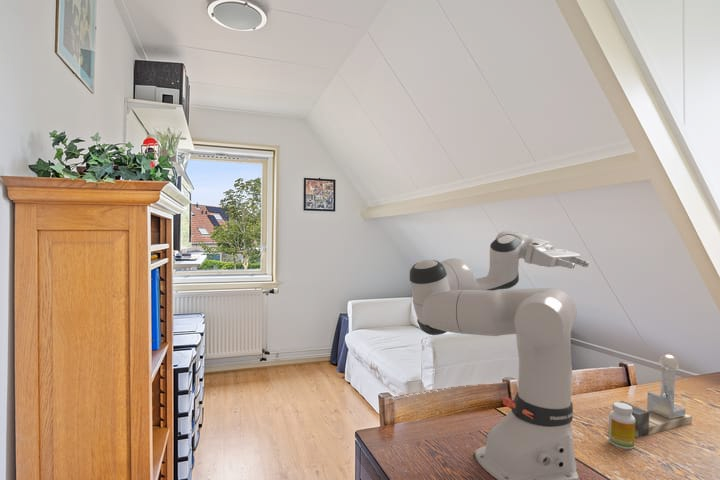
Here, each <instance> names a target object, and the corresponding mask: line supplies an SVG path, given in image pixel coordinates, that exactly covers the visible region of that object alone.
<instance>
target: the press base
mask: <svg viewBox="0 0 720 480" xmlns="http://www.w3.org/2000/svg"><path fill="white" fill-rule="evenodd" d="M619 402H621V403H625V404H628V405H630V406H631V407H632V414H631V415H633V416H634V418H635V437H636V438H642V437H645V436H649V435H653V434H657V433H662V432H664V431H667V430H671V429H676V428H679V427H682V426H686V425H690V424H692V422H693V421H692V417H693V416H692V415H690V414H687V413H685V416H681V417H677V418H673V419H668V418H666V417H663V416H661V415H658V414H656V413H654V412H651V411H649V410H647V409H644V408H643V409H642V408H640V407H639V406H635V405H633V404H631V403H629V402H627V401H624V400H622V401H619ZM614 403H615V402H613V403H612V405H613V404H614Z"/></svg>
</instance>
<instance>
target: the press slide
mask: <svg viewBox="0 0 720 480" xmlns="http://www.w3.org/2000/svg"><path fill="white" fill-rule="evenodd" d="M658 361H659V362H658V363H659V365H660V367H661V381H660V383H661V384H660V394H658V393H655V392H652V391H648V392H647V397H646V398H647V399H646V400H647V402H646V410H649V411H651V412H654V413H656V414H658V415H661V416H663V417H666V418H668V419H673V418H677V417H681V416H685V414H686V412H687V411H686V408H684V407H682V406H678V405H676V404H675V387H676V370H677V369H678V368H679V366H680V362H679V359H678V358H677V357H676V356H675V355H672V354H669V353H665V354H663V355H661V356H660V357H659V360H658Z"/></svg>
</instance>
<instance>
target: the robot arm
mask: <svg viewBox="0 0 720 480" xmlns="http://www.w3.org/2000/svg"><path fill="white" fill-rule="evenodd" d="M489 245H490V246H489V268H488V269H489V270H488V272H487V273H488V274H487V275H485V276H483V277H482V276H481V277H479V278H476V277H475V275H474V272H473V270H472V269H471V267H470V266H469V265H468V264H467V263H466V262H465V261H463V260H461V259H459V258H454V257H453V258H448V259H445V260H442V261H438V260H435V259H426V260H421V261H418V262H417V263H414V264H413V265H412V267H410V270H409V281H410V286H411V287H410V288H411V289H410V290H411V295H412V297H411V298H412V303H413V304H412V305H413V308H414V312H415V314H416V319H417V321H416V322H417V324H418V326H419V328H420V330H421V331H422V332H424V333H425V334H427V335H430V336H438V335H439V336H440V335H444V334H446V333H447V332H448V333H453V334H462V335H463V334H464V335H475V336H488V337H490V336H491V337H499V336H507V335H509V336H510V335H516V336H515V337H516V347H517V352H518V353H517V355H518V381H517V382H518V387H517V389H518V390H517V392H516V394H515V397H514V399H511V398H510V397H508V396H505V397H504V398H503V399H502V404H503V405H504V406H505V407H508V409H510V411H509V412H508V414H506V415H505V416H504V417H503V418H502V419H501V420H500V421H499V422H498V423H496V424H495V425H494V426H493V427H492V428H491V429H490V430H489V431H488V434H487V437H486V444H485V445H484V446H481V447H479V448H477V449H475V455H474V456H475V459H476V461H477V462H478V463H479V465H480V466H481V467H482V468H483V469H484V470H485V471H486V472H487V473H489V474H490V476H492V477H494V478H495V479H496V480H580V477H579V474H578V472H577V468H578V465H577V462H576V457H575V456H576V453H575V442H574V436H573V433H572V426H571V423H572V422H573V419H574V418H573V415H574V410H573V409H574V404H573V402H572V381H573V380H572V379H573V367H572V365H573V364H572V351H571V350H572V346H571V345H572V344H571V343H572V342H571V341H572V338H571V336H572V335H571V334H572V329H573V326H574V323H575V321H576V318H577V308H576V304H575V302H574V300H573V299H572V298H571V296H570V295H569V294H567V293H566V292H564V291H563V290H560V289H558V288H553V287H543V288H542V287H540V288H538V287H537V288H536V287H535V288H514V289H512V288H513V287H515V286H517V284H518V282H519V280H520V279H519V278H520V277H519V265H520V264H519V263H520V262H519V260H520V259H523V260H524V263H526V264H529V265H530V264H532V265H535V266H539V267H546V268H553V267H554V268H555V267H562V268H567V269H571V270H572V269H574V268H575V266H577V265H579V266H580V267H583V268H588V267H589V266H590V262H589V261H587V260H584V259H583V258H581V257H582V255H581V254H580V253H578V252H574V251H571V250H570V251H569V250H566V249H564V248H563V249H561V248H555V247H554V246H553V244H552V242H551V241H549V240H545V239H541V238H538V237H531V236H529V235H527V234H524V233H521V232H516V231H511V230H504V231H503V230H502V231H501V232H499V233H498V234H497V236H496V237H495V239H494V240H493V241H492V242H491V243H490V244H489Z"/></svg>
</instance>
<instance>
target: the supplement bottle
mask: <svg viewBox="0 0 720 480" xmlns="http://www.w3.org/2000/svg"><path fill="white" fill-rule="evenodd" d="M613 403H614V404H613ZM613 403H612V410H611V411H610V412H609V421H608V442H609V443H610V444H612V445H613V446H615V447H617V448H619V449H623V450H632V449H634V448H635V442H636V441H635V440H636V439H635V437H636V436H635V418H634V416H633V415H631V414H632V407H631V406H630V405H628V404H625V403H621V402H620V401H616V402H613Z"/></svg>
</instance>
